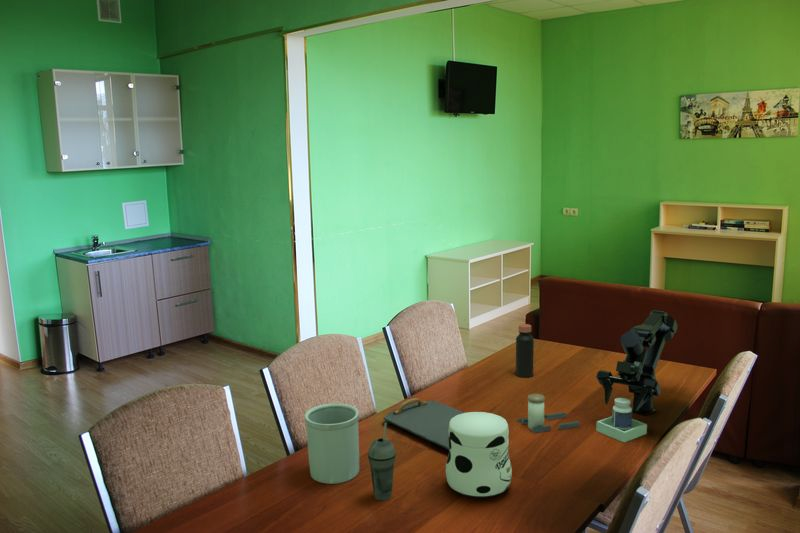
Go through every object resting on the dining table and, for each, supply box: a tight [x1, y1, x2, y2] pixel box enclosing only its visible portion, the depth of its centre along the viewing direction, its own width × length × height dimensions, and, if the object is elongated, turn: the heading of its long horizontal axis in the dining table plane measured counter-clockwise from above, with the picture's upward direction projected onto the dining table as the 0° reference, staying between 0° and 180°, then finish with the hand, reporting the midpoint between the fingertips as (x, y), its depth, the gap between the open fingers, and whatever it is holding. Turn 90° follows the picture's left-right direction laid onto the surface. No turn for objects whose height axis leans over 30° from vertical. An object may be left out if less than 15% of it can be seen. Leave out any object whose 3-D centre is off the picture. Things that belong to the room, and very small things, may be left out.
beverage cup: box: [367, 422, 397, 501], centre depth 174 cm, size 7×7×20 cm
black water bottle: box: [515, 323, 535, 378], centre depth 264 cm, size 7×7×20 cm
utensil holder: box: [304, 402, 360, 485], centre depth 188 cm, size 15×15×18 cm
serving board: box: [383, 397, 465, 451], centre depth 215 cm, size 39×23×6 cm, turn 40°
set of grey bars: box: [515, 411, 581, 434], centre depth 219 cm, size 17×11×2 cm, turn 107°
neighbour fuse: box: [527, 393, 546, 430], centre depth 216 cm, size 5×5×10 cm
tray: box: [595, 415, 648, 443], centre depth 211 cm, size 11×11×3 cm
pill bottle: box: [611, 397, 633, 431], centre depth 210 cm, size 6×6×10 cm
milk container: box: [445, 411, 513, 499], centre depth 178 cm, size 17×17×18 cm
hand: (620, 407), depth 208 cm, fingers open, 9 cm apart
